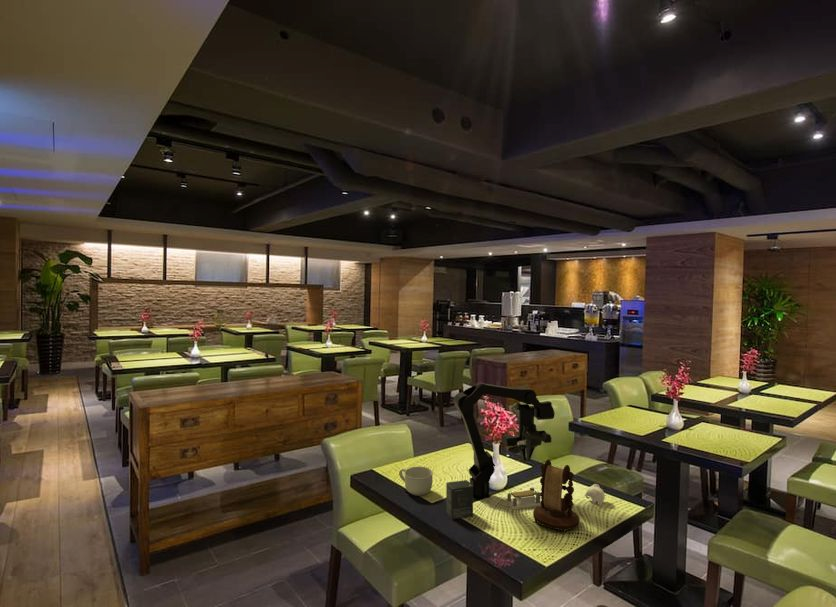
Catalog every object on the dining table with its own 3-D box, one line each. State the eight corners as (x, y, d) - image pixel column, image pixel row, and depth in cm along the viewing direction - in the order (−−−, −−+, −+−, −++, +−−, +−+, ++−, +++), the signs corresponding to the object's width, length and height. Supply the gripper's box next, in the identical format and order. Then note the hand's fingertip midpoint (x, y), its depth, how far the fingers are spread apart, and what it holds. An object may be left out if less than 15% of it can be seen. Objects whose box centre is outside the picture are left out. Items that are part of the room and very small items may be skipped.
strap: (514, 498, 160) (514, 495, 160) (510, 494, 162) (510, 492, 162) (538, 494, 163) (538, 492, 163) (533, 491, 165) (534, 489, 165)
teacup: (438, 492, 171) (438, 471, 171) (419, 501, 163) (419, 479, 163) (411, 481, 180) (411, 462, 180) (392, 490, 172) (392, 469, 172)
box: (466, 509, 157) (466, 479, 157) (473, 517, 152) (473, 485, 152) (445, 512, 155) (446, 481, 155) (451, 520, 149) (452, 488, 149)
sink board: (514, 509, 157) (514, 497, 157) (504, 501, 164) (504, 489, 164) (543, 505, 161) (544, 493, 161) (533, 497, 168) (533, 486, 168)
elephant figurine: (586, 496, 169) (586, 480, 169) (608, 501, 165) (609, 485, 165) (582, 503, 163) (582, 487, 163) (606, 508, 159) (606, 492, 159)
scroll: (524, 522, 148) (525, 462, 148) (545, 508, 159) (546, 451, 159) (567, 539, 138) (568, 474, 138) (586, 522, 149) (587, 462, 149)
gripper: (514, 428, 161) (513, 471, 162) (559, 424, 166) (559, 466, 166) (500, 420, 172) (500, 460, 172) (543, 416, 177) (543, 456, 177)
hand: (526, 460), depth 172 cm, fingers closed
